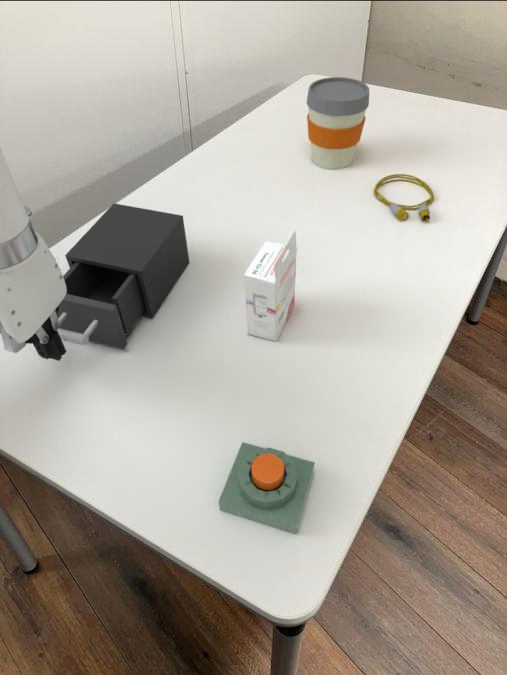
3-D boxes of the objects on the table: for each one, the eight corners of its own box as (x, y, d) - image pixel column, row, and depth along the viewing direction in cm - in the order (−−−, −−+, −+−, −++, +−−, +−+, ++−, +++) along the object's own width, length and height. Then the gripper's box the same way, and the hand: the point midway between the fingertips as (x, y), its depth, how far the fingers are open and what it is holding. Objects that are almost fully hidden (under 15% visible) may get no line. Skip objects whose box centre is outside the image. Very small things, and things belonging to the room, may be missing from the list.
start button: (247, 485, 56) (246, 477, 55) (257, 457, 59) (257, 449, 57) (278, 494, 55) (278, 487, 54) (287, 466, 58) (288, 458, 56)
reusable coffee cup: (292, 161, 112) (294, 90, 101) (325, 140, 119) (330, 72, 108) (339, 179, 107) (347, 107, 96) (371, 156, 113) (382, 86, 102)
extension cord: (362, 214, 98) (364, 205, 96) (381, 174, 108) (383, 166, 106) (427, 227, 94) (429, 218, 93) (440, 185, 104) (443, 176, 103)
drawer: (109, 371, 71) (95, 333, 66) (40, 353, 74) (20, 314, 68) (164, 290, 83) (156, 251, 77) (102, 276, 85) (90, 238, 80)
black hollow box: (152, 319, 80) (141, 271, 73) (82, 302, 82) (64, 255, 75) (189, 262, 89) (182, 215, 82) (125, 249, 92) (113, 203, 85)
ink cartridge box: (265, 298, 82) (265, 221, 71) (295, 306, 81) (299, 228, 70) (245, 334, 77) (241, 257, 66) (276, 343, 75) (277, 265, 65)
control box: (219, 510, 58) (217, 494, 55) (242, 451, 63) (241, 433, 60) (295, 534, 56) (297, 519, 53) (313, 471, 61) (315, 454, 58)
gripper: (12, 198, 60) (60, 310, 73) (-82, 279, 50) (-7, 390, 64) (68, 208, 58) (106, 321, 71) (-19, 294, 48) (44, 405, 62)
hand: (53, 354), depth 67 cm, fingers closed
